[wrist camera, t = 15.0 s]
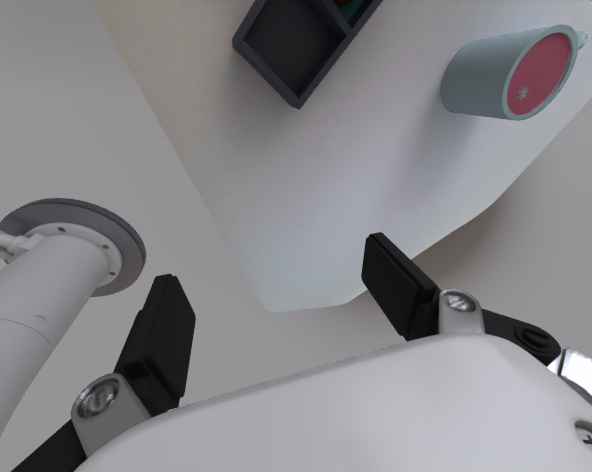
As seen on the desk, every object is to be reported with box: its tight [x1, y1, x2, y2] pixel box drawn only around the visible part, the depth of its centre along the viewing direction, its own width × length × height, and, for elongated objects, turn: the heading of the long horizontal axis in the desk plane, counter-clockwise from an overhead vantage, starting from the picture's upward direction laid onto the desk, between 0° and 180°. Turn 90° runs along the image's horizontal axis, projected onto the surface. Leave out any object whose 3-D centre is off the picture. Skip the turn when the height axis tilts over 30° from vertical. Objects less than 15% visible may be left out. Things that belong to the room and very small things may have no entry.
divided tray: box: [232, 0, 383, 109], centre depth 25 cm, size 10×18×5 cm, turn 138°
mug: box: [441, 25, 587, 121], centre depth 31 cm, size 14×9×10 cm
